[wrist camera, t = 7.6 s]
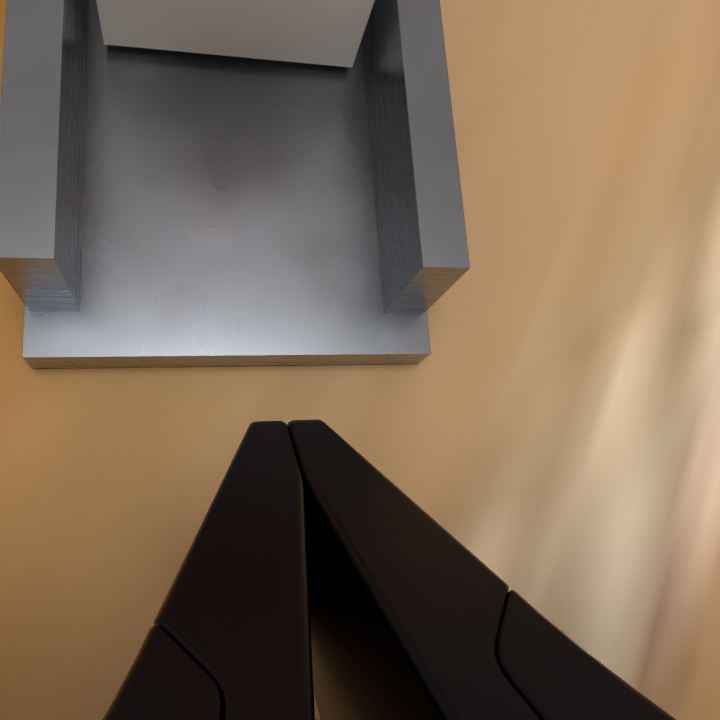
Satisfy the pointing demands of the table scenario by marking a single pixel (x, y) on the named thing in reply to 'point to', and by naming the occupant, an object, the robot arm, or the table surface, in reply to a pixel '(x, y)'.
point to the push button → (241, 27)
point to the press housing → (226, 196)
